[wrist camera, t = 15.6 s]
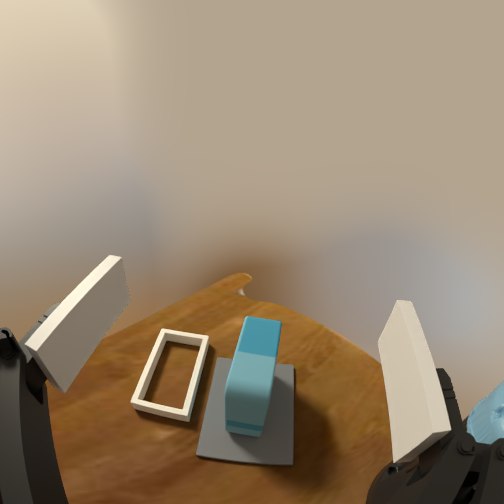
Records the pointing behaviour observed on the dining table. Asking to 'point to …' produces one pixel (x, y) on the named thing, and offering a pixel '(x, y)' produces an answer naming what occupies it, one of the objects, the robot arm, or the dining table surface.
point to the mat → (244, 446)
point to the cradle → (151, 365)
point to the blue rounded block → (251, 376)
